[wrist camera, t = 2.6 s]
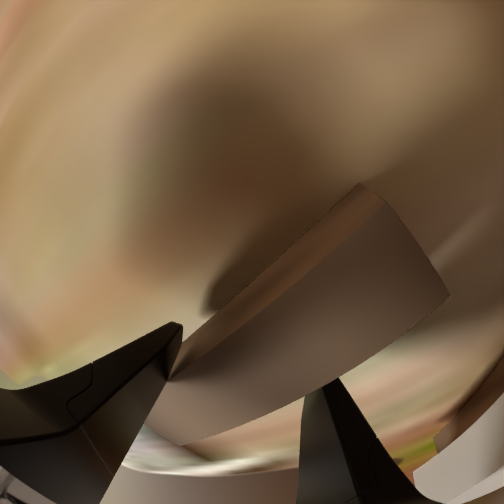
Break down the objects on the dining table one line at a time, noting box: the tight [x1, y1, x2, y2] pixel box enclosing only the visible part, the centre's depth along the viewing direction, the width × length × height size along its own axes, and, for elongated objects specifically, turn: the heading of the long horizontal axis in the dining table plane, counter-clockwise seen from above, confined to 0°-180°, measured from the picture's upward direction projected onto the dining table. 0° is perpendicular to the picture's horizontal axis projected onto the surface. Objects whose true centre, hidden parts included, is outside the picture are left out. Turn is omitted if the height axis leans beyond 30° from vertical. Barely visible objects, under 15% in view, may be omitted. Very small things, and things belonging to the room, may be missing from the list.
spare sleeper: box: [144, 183, 451, 446], centre depth 9 cm, size 12×3×3 cm, turn 137°
